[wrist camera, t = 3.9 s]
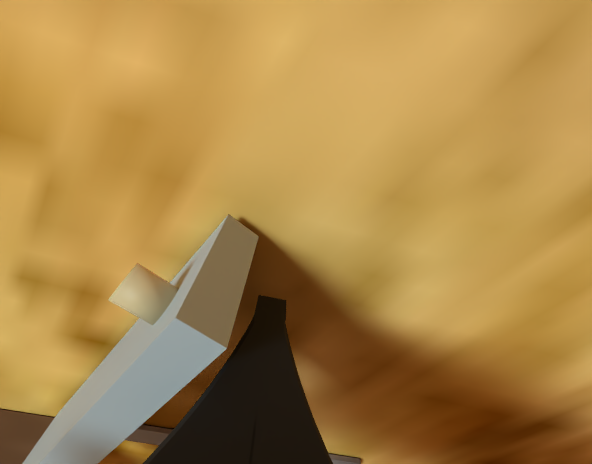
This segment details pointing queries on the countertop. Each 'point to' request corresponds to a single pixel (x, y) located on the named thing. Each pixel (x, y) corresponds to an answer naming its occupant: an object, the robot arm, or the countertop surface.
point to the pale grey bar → (154, 348)
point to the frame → (29, 428)
